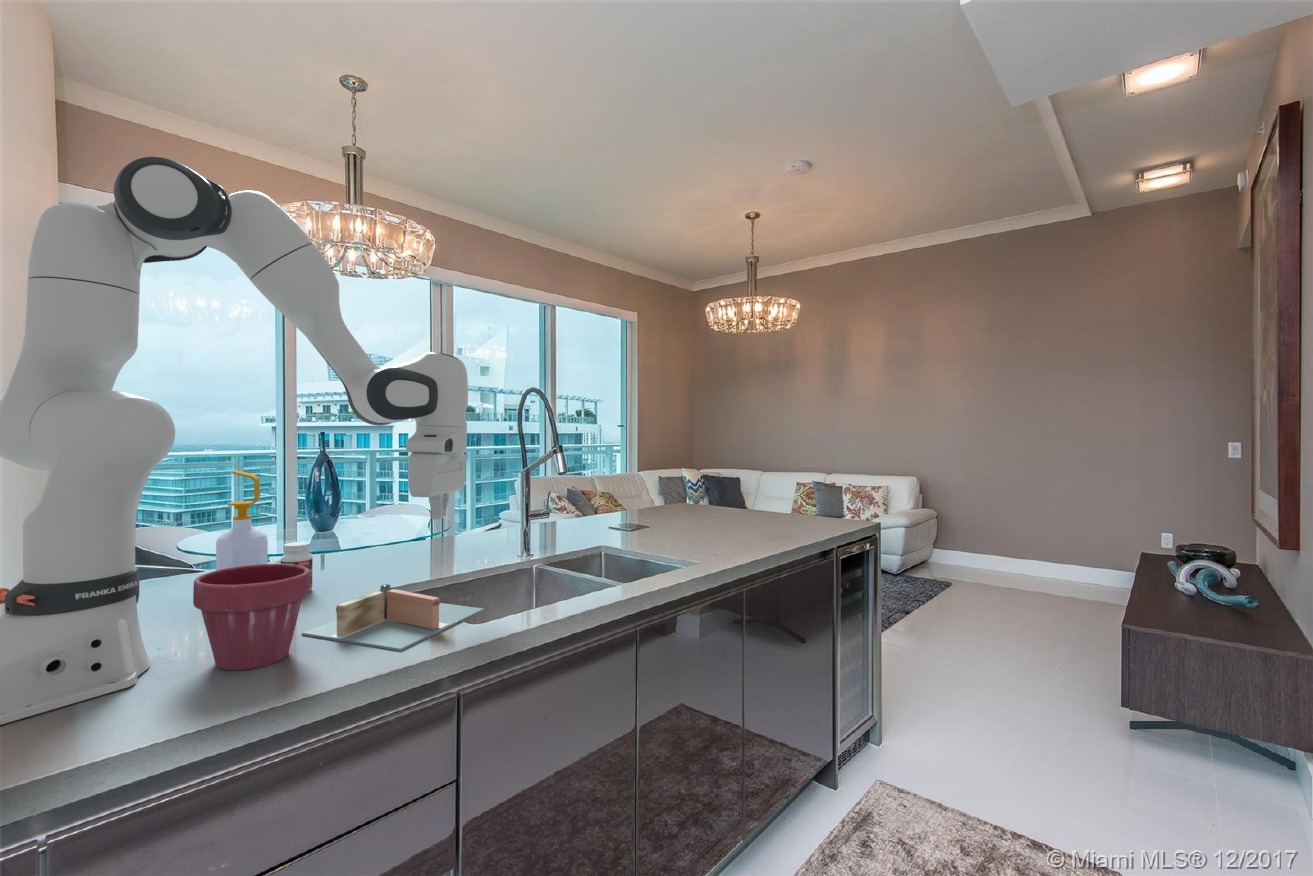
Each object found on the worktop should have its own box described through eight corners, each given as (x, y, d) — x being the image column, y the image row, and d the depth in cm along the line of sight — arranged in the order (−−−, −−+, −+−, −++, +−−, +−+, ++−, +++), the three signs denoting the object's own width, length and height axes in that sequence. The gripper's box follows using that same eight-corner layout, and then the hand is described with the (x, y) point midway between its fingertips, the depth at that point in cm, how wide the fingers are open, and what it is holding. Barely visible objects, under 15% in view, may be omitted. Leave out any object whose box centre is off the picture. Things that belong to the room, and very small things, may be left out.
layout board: (400, 651, 94) (400, 648, 94) (301, 635, 101) (301, 632, 101) (483, 610, 115) (483, 608, 115) (397, 599, 122) (397, 597, 122)
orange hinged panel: (386, 619, 108) (386, 591, 107) (394, 616, 109) (394, 588, 109) (431, 629, 103) (431, 600, 102) (439, 626, 104) (440, 597, 104)
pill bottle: (301, 595, 123) (301, 546, 123) (274, 595, 123) (274, 546, 123) (318, 588, 129) (318, 541, 129) (291, 587, 129) (291, 540, 129)
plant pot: (312, 637, 100) (313, 559, 100) (304, 668, 87) (304, 579, 87) (206, 649, 94) (206, 566, 94) (180, 685, 81) (180, 589, 81)
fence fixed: (344, 636, 99) (344, 606, 99) (335, 635, 100) (335, 605, 100) (385, 620, 108) (385, 592, 108) (376, 619, 108) (377, 591, 108)
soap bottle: (221, 582, 132) (221, 469, 131) (270, 579, 135) (270, 468, 135) (211, 593, 123) (211, 472, 123) (264, 589, 127) (264, 471, 127)
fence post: (385, 619, 108) (385, 587, 108) (378, 618, 108) (378, 586, 108) (392, 617, 109) (392, 585, 109) (384, 616, 110) (385, 584, 110)
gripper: (443, 442, 122) (440, 511, 122) (401, 441, 101) (398, 525, 101) (474, 443, 122) (472, 512, 122) (439, 442, 101) (437, 526, 101)
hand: (438, 518), depth 111 cm, fingers closed
